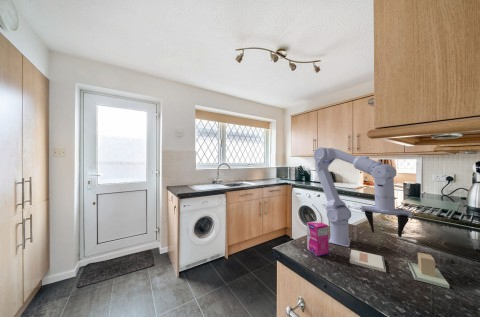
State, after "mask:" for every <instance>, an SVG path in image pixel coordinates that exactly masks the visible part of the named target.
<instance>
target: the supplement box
mask: <svg viewBox="0 0 480 317" xmlns="http://www.w3.org/2000/svg"><path fill="white" fill-rule="evenodd" d="M306 237H307V238H306V239H307V240H306V242H307V245H306V246H307V251H308V252H310V253H311V254H313V255H315V256H316V257H323V256H326V255H329V254H330V252H329V250H330V249H329V242H328V241H329V225H328V224H326V223H323V222H321V221H318V220H315V221H310V222H309V221H308V222H306Z"/></svg>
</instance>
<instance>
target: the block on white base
mask: <svg viewBox="0 0 480 317" xmlns="http://www.w3.org/2000/svg"><path fill="white" fill-rule="evenodd" d="M407 265H408V267H409V270H410V272H411V274H412V276H413V279H414V280H415V281H419V282H424V283H427V284H431V285H435V286H438V287H442V288H446V289H450V284H449V283H448V281H447V280H446V279H445V277H444V276H443V274H442V273H441V272H440V270H439V269H438V267H437V268H436V262H435V259H434V257H433V256H432V255H431V254H429V253H423V252H418V251H417V263H414V262H410V261H408V262H407Z"/></svg>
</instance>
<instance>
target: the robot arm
mask: <svg viewBox="0 0 480 317" xmlns="http://www.w3.org/2000/svg"><path fill="white" fill-rule="evenodd" d="M312 156H313V159H314V167H315V172H316V173H317V177H318V179H319V182H320V185H321V188H322V190H323V193H324V195H325V199H326V201H327V203H326V205H325V210H326V217H327V219H328V220H329V225H330V226H329V229H330V232H329V233H330V236H329V237H330V238H328V244H332V245H333V244H334V245H337V246H342V247H347V248H348V247H350V245H351V238H349V220H350V219H351V217H352V212H351V209H350V208H349V207H348V206H347V204H346V202H345V201H343V200H342V199H341V198H340V195H339V193H338V190H337V188H336V186H335V183H334V181H333V177H332V175H331V174H330V171H329V167H330V165H331V164H333V162H334V161H335V160H337V159H338V160H341V161H344V162H346V163H349V164H352V165H353V167H354V169H356V170H358V171H360V172H362V173H365V174H367V175H369V176H371V177H372V178H373V180H374V181H373V182H374V204H375V205H374V206H371V205H370V206H368V205H367V206H366V205H361V207H360V210H361V212H362V213H364V214H365V217H366V219H367V222H368V223H369V226H370V230H371V233H375V227H374V214H381V215H391V216H396V217H397V219H396V220H397V236H398V238H402V234H403V231H404V228H405V226H406V225H407V223H408V222H409V220H410V219H411V218H413V211H412V210H405V209H399V208H396V205H395V204H396V203H395V202H396V201H395V180H394V178H396V176H397V170H396V168H395V166H393V165H391V164H389V163H385V164H384V163H383V162H382V161H381V160H374V159H371V158H370V157H369V156H368V155H360V156H358V157H357V156H354V155H353V154H350V153H348V152H345V151H343V150H341V149H337V148H333V147H321V146H320V147H317V148H316V149H315V151H314V152H313V154H312Z"/></svg>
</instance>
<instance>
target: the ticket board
mask: <svg viewBox="0 0 480 317" xmlns="http://www.w3.org/2000/svg"><path fill="white" fill-rule="evenodd" d="M350 250H351V251H350V255H349V264H353V265H356V266H360V267H364V268H367V269H371V270H376V271H379V272H383V273H387V268H386V264H385V263H386V262H385V260H384V259H385V258H384V255H379V254H374V253H370V252H369V253H368V252H365V251H360V250H356V249H350Z"/></svg>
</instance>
